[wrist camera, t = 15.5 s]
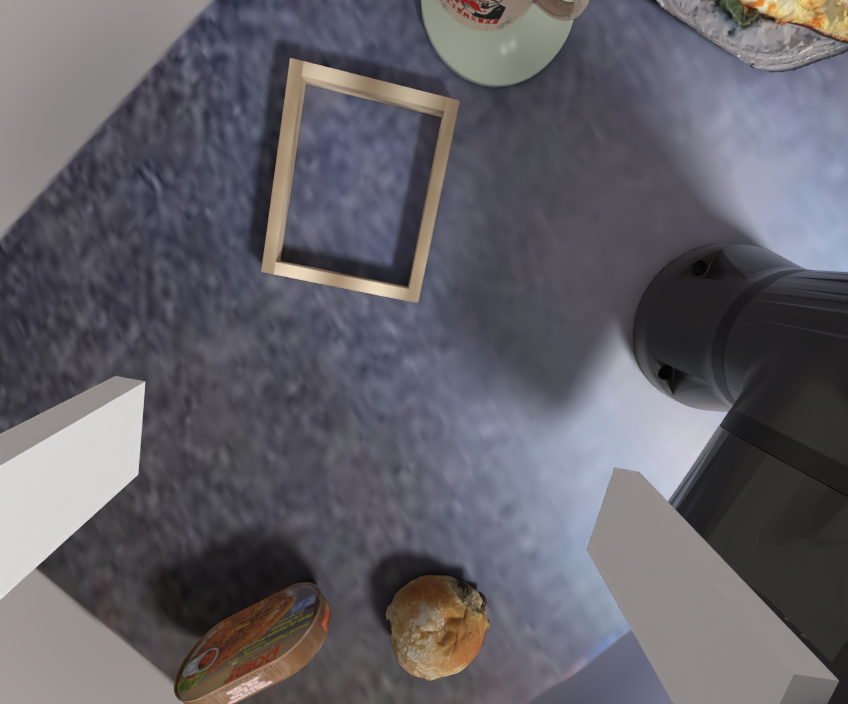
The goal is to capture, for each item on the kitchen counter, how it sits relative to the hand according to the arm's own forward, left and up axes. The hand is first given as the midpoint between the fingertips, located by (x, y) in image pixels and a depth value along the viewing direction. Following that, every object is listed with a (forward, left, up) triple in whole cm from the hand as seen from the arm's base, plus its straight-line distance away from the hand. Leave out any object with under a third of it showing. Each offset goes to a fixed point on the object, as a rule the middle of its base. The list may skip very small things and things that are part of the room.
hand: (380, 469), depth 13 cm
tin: (+6, +32, -30) cm, 45 cm away
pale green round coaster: (-4, -26, -30) cm, 40 cm away
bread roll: (-11, +30, -30) cm, 44 cm away
